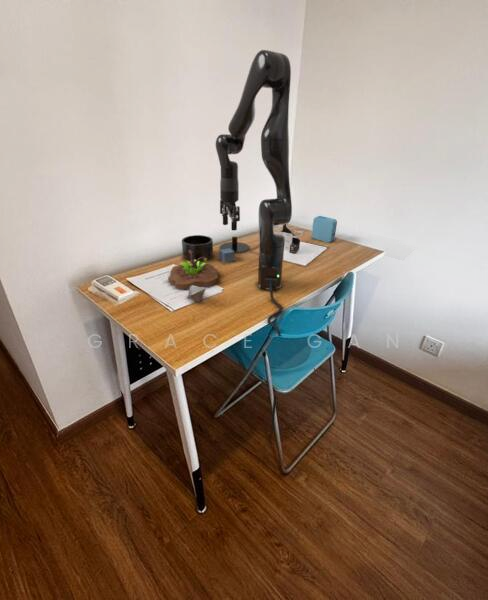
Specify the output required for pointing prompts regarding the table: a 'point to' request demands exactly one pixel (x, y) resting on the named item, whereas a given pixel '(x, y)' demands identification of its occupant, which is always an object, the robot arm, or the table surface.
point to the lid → (235, 246)
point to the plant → (193, 274)
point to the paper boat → (196, 293)
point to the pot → (197, 247)
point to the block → (227, 255)
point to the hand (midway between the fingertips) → (229, 227)
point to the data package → (324, 228)
